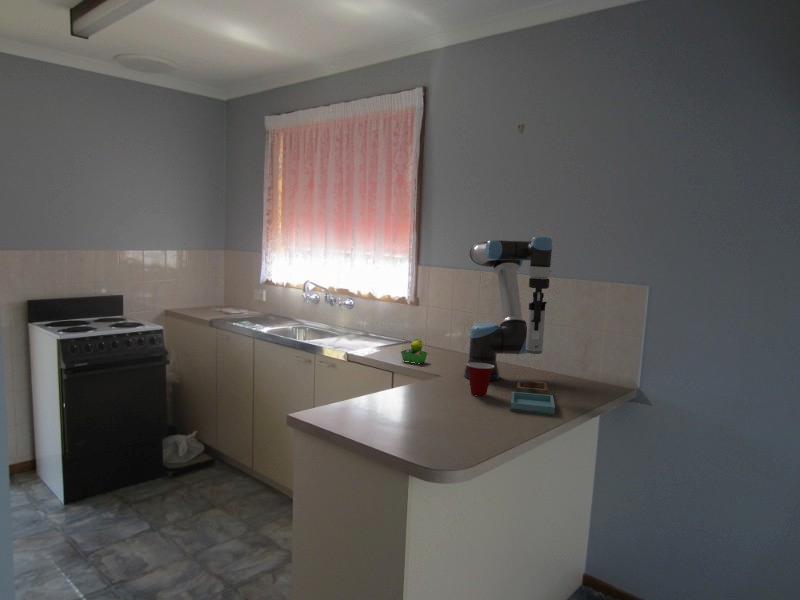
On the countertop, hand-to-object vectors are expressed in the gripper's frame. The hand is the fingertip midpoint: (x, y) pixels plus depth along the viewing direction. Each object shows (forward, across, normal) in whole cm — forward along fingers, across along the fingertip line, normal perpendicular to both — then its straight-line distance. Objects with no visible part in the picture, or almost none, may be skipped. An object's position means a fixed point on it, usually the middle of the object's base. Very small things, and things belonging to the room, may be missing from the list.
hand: (535, 337), depth 218 cm
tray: (+23, -16, 0) cm, 28 cm away
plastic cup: (+23, -6, +20) cm, 31 cm away
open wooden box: (+23, 0, 0) cm, 23 cm away
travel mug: (+6, 0, 0) cm, 6 cm away
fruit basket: (+23, +38, +54) cm, 70 cm away
